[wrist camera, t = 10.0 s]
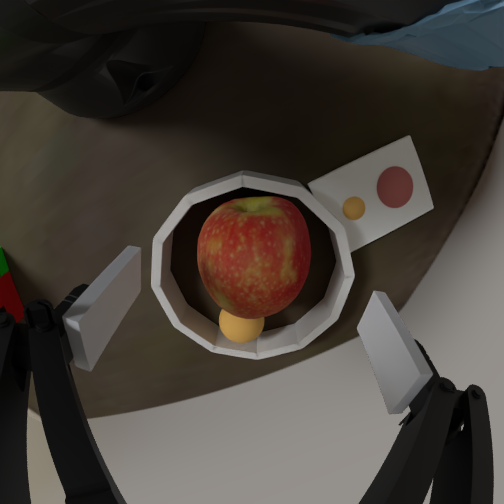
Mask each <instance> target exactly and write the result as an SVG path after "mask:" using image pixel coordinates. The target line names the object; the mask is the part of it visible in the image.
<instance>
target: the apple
mask: <svg viewBox="0 0 504 504" xmlns="http://www.w3.org/2000/svg"><path fill="white" fill-rule="evenodd" d="M197 261H198V268H199V272H200V275H201V278H202V281H203V283H204V286H205V288H206V289H207V291H208V293H209V294H210V296H211V297H212V298H213V300H214V301H215V302H216V303H217V304H218V305H219V306H220V307H221V308H222V309H223V310H225V311H226V312H228V313H230V314H231V315H234V316H236V317H239V318H244V319H258V318H262V317H267V316H270V315H272V314H275V313H277V312H279V311H281V310H282V309H284V308H285V307H287V306H288V305H289V304H290V303H291V302H292V301H293V300H294V299H295V298H296V297H297V295H298V294H299V292H300V290H301V289H302V287H303V285H304V283H305V281H306V278H307V276H308V272H309V268H310V261H311V244H310V237H309V232H308V228H307V224H306V222H305V219H304V218H303V216H302V214H301V213H300V211H299V210H298V208H297V207H296V206H295V205H294V204H293V203H292V202H290V201H288V200H286V199H283V198H280V197H274V196H263V197H248V198H239V199H233V200H231V201H228V202H226V203H223V204H222V205H220V206H219V207H218V208H216V209H215V210H214V211H213V212H212V213H211V214H210V216H209V217H208V218H207V220H206V221H205V223H204V224H203V227H202V229H201V232H200V234H199V238H198V246H197Z"/></svg>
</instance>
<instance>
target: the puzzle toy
mask: <svg viewBox="0 0 504 504" xmlns="http://www.w3.org/2000/svg"><path fill="white" fill-rule="evenodd" d="M23 311H24V307H23V305H22V302H21V300H20V298H19V295H18V293H17V290H16V288H15V285H14V282H13V280H12V277H11V274H10V271H9V268H8V265H7V262H6V259H5V256H4V253H3V250H2V247H0V313H3V312H8V313H11V314H12V315H14V317H15V320H16V323H18V322H19V321H20V320H21V319H22V318H23V317H24V313H23Z"/></svg>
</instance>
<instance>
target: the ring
mask: <svg viewBox="0 0 504 504" xmlns="http://www.w3.org/2000/svg"><path fill="white" fill-rule="evenodd" d="M241 187H247V188H252V189H257V190H262V191H268V192H272V193H277V194H282V195H287V196H291V197H296V198H298V199H300V200H301V201H302V202H303V203H304V204H305V205H306V206H307V207H308V208H309V209H310V210H311V211H313V212H314V213H315V214H316V215H317V216H318V217H319V218H320V219H321V220H322V221H323V222H324V223H325V224H326V225H327V226H328V229H329V233H330V237H331V241H332V245H333V249H334V253H335V257H336V264H335V267H334V270H333V273H332V276H331V279H330V282H329V285H328V288H327V290H326V293H325V296H324V298H323V299H322V300H321V301H320V302H319V303H318V304H317V305H315V306H314V307H313V308H312V309H311V310H310V311H309V312H307V313H306V314H305V315H304V316H303V317H302V318H301V319H299V320H298V321H297V322H296V323H294V324H291V325H287V326H283V327H280V328H276V329H272V330H268V331H264V332H261V333H260V335H259V336H258V337H257V338H256V339H254V340H252V341H250V342H247V343H237V342H233V341H231V340H229V339H228V338H227V337H226V336H225V335H224V334H223V332H222V331H221V328H220V327H219V326H218V325H216V324H215V323H213V322H212V321H210V320H209V319H207V318H206V317H205V316H203V315H202V314H200V313H199V312H198V311H196V310H195V309H193V308H192V307H191V306H189V305H188V304H187V302H186V300H185V298H184V296H183V295H182V293H181V291H180V289H179V287H178V285H177V283H176V281H175V279H174V277H173V275H172V273H171V271H170V266H171V252H172V241H173V230H174V229H175V228H176V226H177V225H178V224H179V222H180V221H181V220H182V219H183V217H184V216H185V215H186V213H187V212H188V211H189V210H190V208H191V207H192V206H193V205H194V204H196V203H198V202H201V201H204V200H207V199H209V198H212V197H215V196H218V195H220V194H223V193H226V192H229V191H232V190H235V189H238V188H241ZM354 276H355V275H354V269H353V264H352V259H351V254H350V250H349V245H348V240H347V236H346V231H345V228H344V226H343V225H342V224H341V223H340V221H339V220H338V219H337V218H336V217H335V216H334V215H333V214H332V213H331V212H330V211H329V210H328V209H327V208H326V207H325V206H324V205H323V204H322V203H321V202H320V201H319V200H318V199H317V198H315V197H314V196H313V194H311V193H310V192H309V191H308V190H307V189H306V188H305V187H304V186H303V185H302V184H301V183H300V182H299V181H296V180H291V179H287V178H282V177H278V176H273V175H268V174H263V173H258V172H253V171H247V170H245V171H244V170H243V171H240V172H237V173H234V174H231V175H228V176H226V177H223V178H220V179H217V180H215V181H212V182H209V183H206V184H204V185H201V186H198V187H196V188H194V189H193V190H191V191H190V192H189V193H188V194H187V195H185V196H184V198H183V199H182V200H181V202H180V203H179V204H178V205H177V207H176V208H175V209H174V211H173V212H172V213H171V215H170V216H169V217H168V219H167V220H166V222H165V223H164V224H163V226H162V227H161V228H160V230H159V231H158V233H157V234H156V235H155V237H154V239H153V250H152V275H151V286H152V289H153V291H154V293H155V294H156V296H157V298H158V300H159V302H160V303H161V305H162V307H163V309H164V311H165V312H166V314H167V316H168V318H169V319H170V321H171V323H172V325H173V326H174V327H175V328H177V329H178V330H179V331H181V332H182V333H184V334H185V335H187V336H188V337H190V338H191V339H193V340H194V341H196V342H197V343H199V344H200V345H202V346H203V347H205V348H206V349H208V350H210V351H211V352H215V353H220V354H226V355H231V356H237V357H243V358H250V359H256V360H257V359H263V358H267V357H271V356H275V355H279V354H283V353H287V352H291V351H295V350H299V349H302V348H304V347H305V346H306V345H307V344H309V343H310V342H311V341H313V340H314V339H315V338H316V337H317V336H319V335H320V334H321V333H322V332H324V331H325V330H326V329H327V328H328V327H330V326H331V325H332V324H333V323H334V322H336V321H337V319H338V318H339V315H340V313H341V311H342V308H343V306H344V303H345V301H346V298H347V296H348V293H349V291H350V288H351V285H352V283H353V280H354Z"/></svg>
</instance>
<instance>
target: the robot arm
mask: <svg viewBox="0 0 504 504" xmlns="http://www.w3.org/2000/svg"><path fill="white" fill-rule="evenodd" d="M205 21H240V22H259V23H271V24H281V25H288V26H295V27H301V28H307V29H312V30H317V31H322V32H327V33H330V35H331V36H332V37H334V38H337V39H340V40H342V41H346V42H351V43H353V44H360V45H382V46H386V47H390V48H393V49H397V50H400V51H404V52H407V53H410V54H413V55H416V56H419V57H422V58H424V59H427V60H429V61H432V62H435V63H439V64H442V65H445V66H449V67H454V68H460V69H466V70H479V71H482V70H485V69H489V68H491V67H495V66H496V67H504V0H0V91H27V92H37V93H38V94H40V95H41V96H43V97H44V98H46V99H47V100H49V101H50V102H52V103H53V104H55V105H56V106H58V107H59V108H61V109H62V110H64V111H66V112H68V113H70V114H72V115H75V116H79V117H85V118H115V117H120V116H124V115H127V114H130V113H133V112H135V111H138V110H140V109H142V108H144V107H146V106H148V105H149V104H151V103H152V102H154V101H156V100H157V99H158V98H160V97H161V96H162V95H164V94H165V93H166V92H167V91H168V90H169V89H171V88H172V87H173V86H174V85H175V84H176V83H177V82H178V80H179V79H180V78H181V77H182V76H183V75H184V73H185V72H186V71H187V69H188V68H189V66H190V65H191V63H192V62H193V60H194V58H195V56H196V54H197V52H198V50H199V48H200V45H201V42H202V39H203V35H204V30H205ZM140 291H141V248H139V247H134V246H129V245H128V246H127V247H126V248H125V249H124V250H123V251H122V252H121V253H120V254H119V255H118V256H117V257H116V258H115V260H114V261H113V262H112V263H111V264H110V265H109V266H108V267H107V268H106V269H105V270H104V271H103V272H102V273H101V274H100V275H99V276H98V277H97V278H96V279H95V280H94V281H93V283H92V284H91V285H86V284H82V285H80V286H78V287H76V288H74V289H73V290H72V291H71V292H70V293H69V296H67V297H66V298H65V299H64V301H62V302H61V303H60V304H59V305H58V306H57V307H56V309H55V310H53V306H52V304H51V303H50V302H49V301H47V300H35V301H32V302H30V303H28V304H27V305H26V306H25V308H24V311H23V313H24V317H25V320H26V323H27V324H21V323H16V320H15V317H14V315H12V314H11V313H8V312H3V313H0V504H31V499H30V491H29V483H28V470H27V442H26V441H27V435H26V434H27V410H28V397H29V386H30V378H31V371H32V372H33V379H34V385H35V391H36V396H37V402H38V406H39V411H40V416H41V420H42V424H43V428H44V432H45V436H46V439H47V443H48V446H49V449H50V452H51V456H52V458H53V462H54V465H55V468H56V470H57V473H58V476H59V478H60V481H61V483H62V486H63V489H64V491H65V494H66V499H65V503H66V504H127V503H126V502H125V500H124V498H123V496H122V495H121V493H120V491H119V489H118V487H117V485H116V484H115V482H114V480H113V478H112V476H111V474H110V472H109V470H108V468H107V466H106V464H105V462H104V460H103V458H102V455H101V453H100V451H99V448H98V447H97V444H96V441H95V439H94V437H93V434H92V432H91V429H90V427H89V424H88V421H87V419H86V416H85V413H84V410H83V407H82V404H81V401H80V398H79V395H78V392H77V389H76V386H75V382H74V379H73V375H72V372H71V368H70V365H69V363H70V361H71V360H72V358H74V362H75V365H76V367H79V368H82V369H84V370H87V371H90V372H91V371H92V369H93V367H94V365H95V364H96V362H97V360H98V359H99V357H100V355H101V353H102V352H103V350H104V348H105V347H106V345H107V343H108V342H109V340H110V338H111V337H112V335H113V334H114V332H115V330H116V329H117V327H118V326H119V324H120V322H121V321H122V319H123V318H124V316H125V314H126V313H127V311H128V310H129V308H130V307H131V305H132V304H133V302H134V300H135V299H136V297H137V296H138V294H139V293H140ZM357 330H358V332H359V335H360V337H361V340H362V342H363V345H364V347H365V350H366V352H367V355H368V357H369V360H370V363H371V365H372V368H373V371H374V373H375V376H376V379H377V381H378V384H379V387H380V390H381V392H382V395H383V398H384V401H385V404H386V407H387V409H388V413H389V414H399V413H402V412H403V411H404V410H405V409H406V408H407V407H408V405H409V407H410V410H411V412H409V414H408V415H407V416H406V417H405V418H404V419H403V420H402V421H401V422H400V424H399V425H401V424H402V423H403V425H402V428H401V430H400V432H399V434H398V436H397V438H396V440H395V442H394V444H393V446H392V448H391V450H390V452H389V454H388V456H387V458H386V460H385V461H384V463H383V465H382V467H381V469H380V470H379V472H378V474H377V475H376V477H375V479H374V480H373V482H372V484H371V485H370V487H369V488H368V490H367V492H366V493H365V495H364V496H363V498H362V499H361V501H360V502H359V504H423V502H424V500H425V497H426V495H427V493H428V490H429V488H430V485H431V483H432V480H433V486H432V493H431V498H430V503H429V504H493V487H494V482H493V481H494V473H493V450H492V438H491V428H490V421H489V415H488V407H487V401H486V396H485V393H484V392H483V390H482V389H481V388H480V387H479V386H477V385H473V384H472V385H470V386H469V387H468V388H467V389H466V390H465V391H460V390H456V387H455V385H454V384H453V383H452V382H451V381H450V380H449V379H447V378H444V377H440V376H439V374H438V372H437V370H436V369H435V367H434V365H433V363H432V361H431V360H430V358H429V356H428V355H427V354H426V351H425V350H424V348H423V346H422V345H421V344H420V343H419V342H418V341H417V340H415V339H413V337H412V336H411V334H410V332H409V331H408V329H407V327H406V326H405V324H404V322H403V321H402V319H401V317H400V316H399V314H398V312H397V311H396V309H395V308H394V306H393V305H392V303H391V301H390V300H389V298H388V297H387V295H386V294H385V292H379V291H373V294H372V296H371V298H370V301H369V303H368V305H367V307H366V309H365V312H364V314H363V316H362V318H361V320H360V322H359V324H358V327H357ZM463 424H464V427H463V430H462V431H461V426H462V425H463ZM433 477H434V478H433Z"/></svg>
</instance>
